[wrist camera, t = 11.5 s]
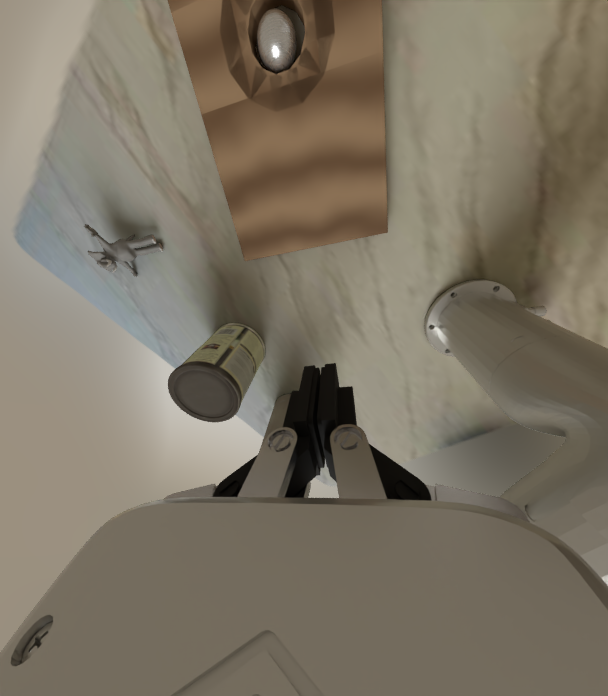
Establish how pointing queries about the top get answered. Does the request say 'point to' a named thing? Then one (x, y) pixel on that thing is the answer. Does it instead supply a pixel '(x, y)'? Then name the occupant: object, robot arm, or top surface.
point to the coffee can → (218, 373)
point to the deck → (292, 120)
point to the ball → (276, 40)
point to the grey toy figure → (122, 250)
